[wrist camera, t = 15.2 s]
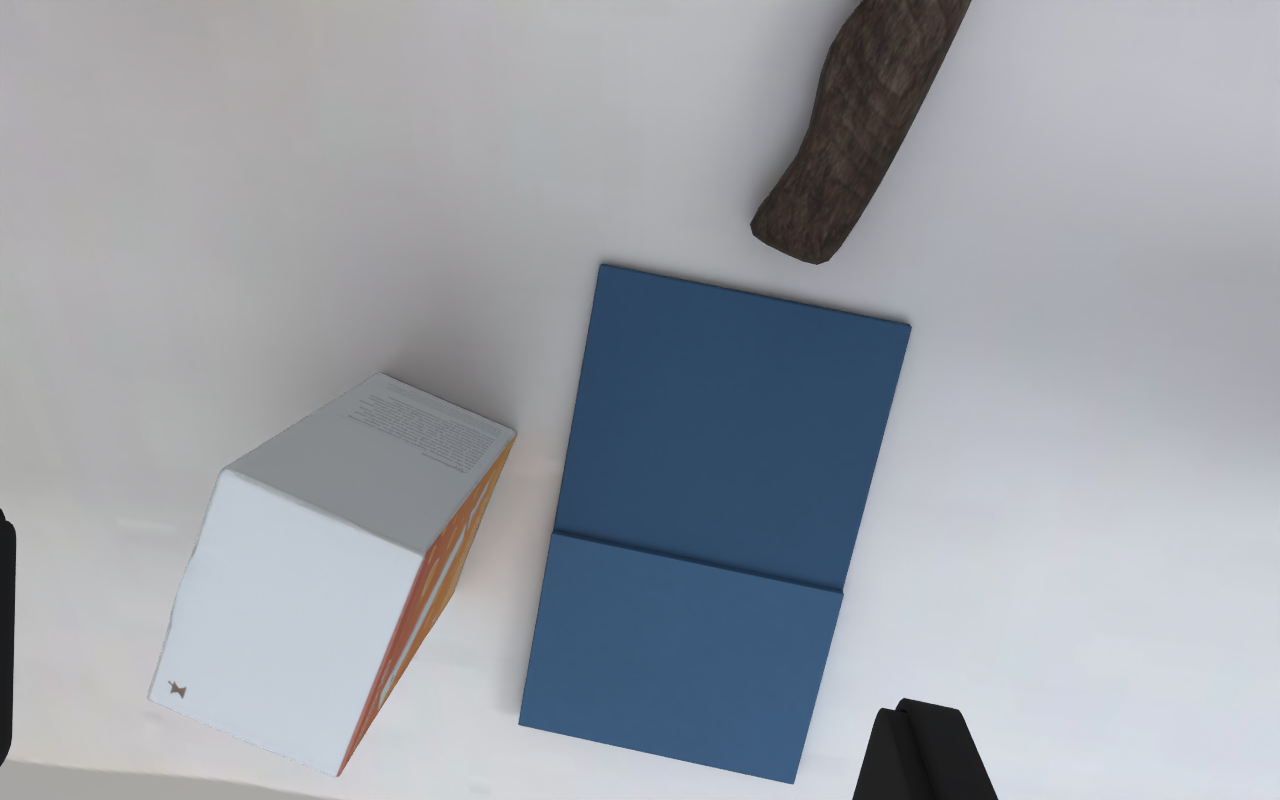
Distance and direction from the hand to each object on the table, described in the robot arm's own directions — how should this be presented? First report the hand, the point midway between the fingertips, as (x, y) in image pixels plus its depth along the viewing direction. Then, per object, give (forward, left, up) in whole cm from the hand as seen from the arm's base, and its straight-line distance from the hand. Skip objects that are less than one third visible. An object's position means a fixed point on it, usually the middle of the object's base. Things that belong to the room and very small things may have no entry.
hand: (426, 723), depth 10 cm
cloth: (-4, +9, -28) cm, 30 cm away
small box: (+8, +9, -28) cm, 31 cm away
